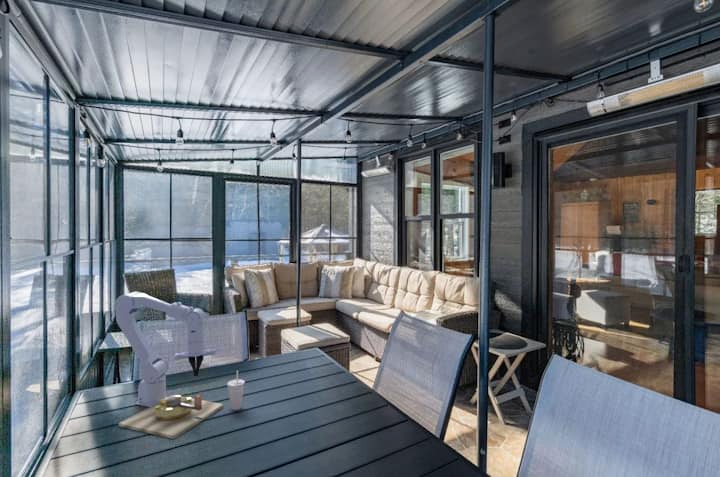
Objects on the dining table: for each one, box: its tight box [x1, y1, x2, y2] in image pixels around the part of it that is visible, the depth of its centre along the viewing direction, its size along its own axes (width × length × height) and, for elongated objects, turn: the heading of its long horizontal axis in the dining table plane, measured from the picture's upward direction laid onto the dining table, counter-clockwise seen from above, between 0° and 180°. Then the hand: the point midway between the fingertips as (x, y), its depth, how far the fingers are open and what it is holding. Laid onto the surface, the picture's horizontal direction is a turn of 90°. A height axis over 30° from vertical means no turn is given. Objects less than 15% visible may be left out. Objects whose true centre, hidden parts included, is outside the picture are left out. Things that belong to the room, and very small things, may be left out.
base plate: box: [118, 394, 224, 440], centre depth 139 cm, size 24×24×6 cm
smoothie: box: [226, 370, 246, 411], centre depth 146 cm, size 6×6×14 cm
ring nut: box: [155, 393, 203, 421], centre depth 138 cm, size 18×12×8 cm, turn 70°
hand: (196, 375), depth 151 cm, fingers closed
